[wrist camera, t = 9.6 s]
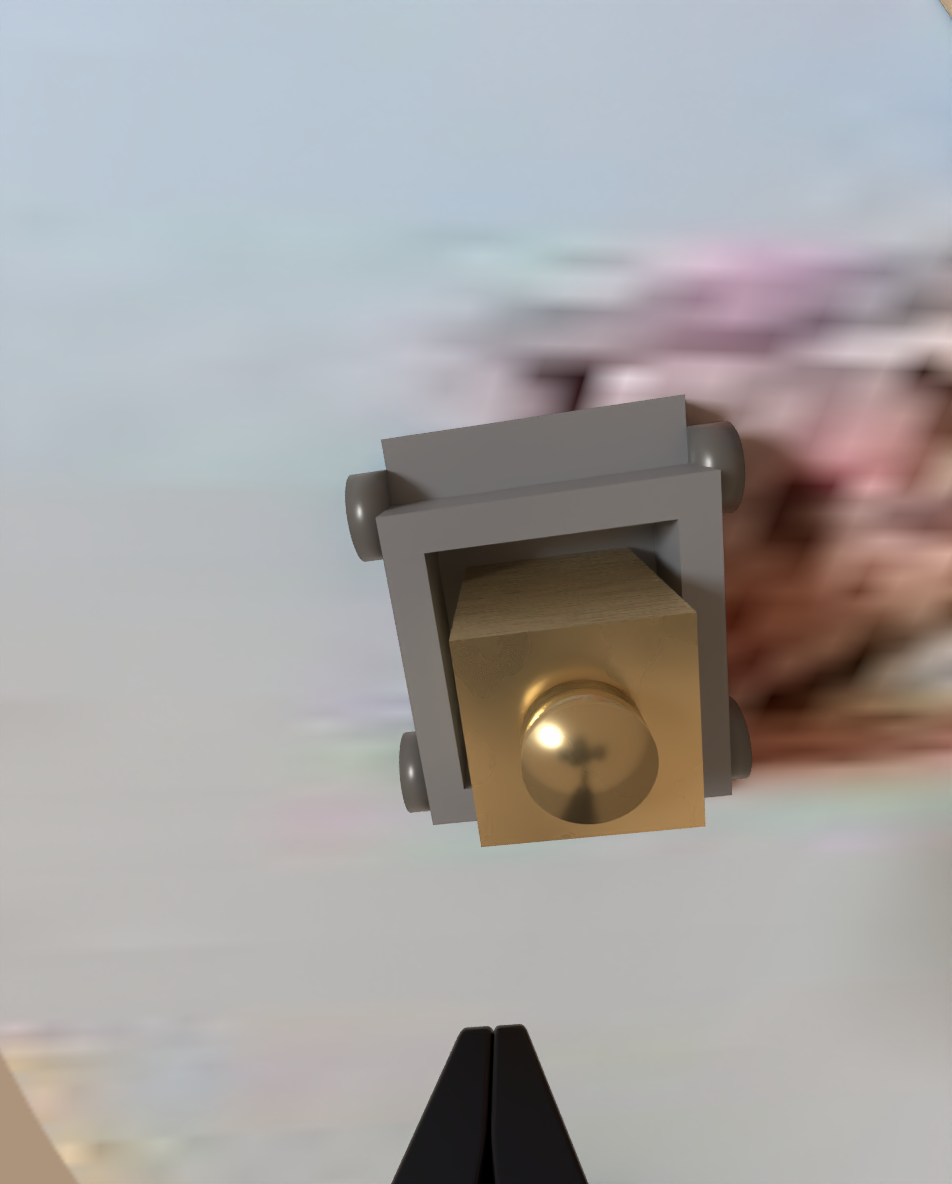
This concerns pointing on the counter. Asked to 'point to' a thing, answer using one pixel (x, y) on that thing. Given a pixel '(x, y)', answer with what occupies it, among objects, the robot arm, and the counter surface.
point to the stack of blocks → (947, 5)
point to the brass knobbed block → (578, 698)
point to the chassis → (547, 551)
